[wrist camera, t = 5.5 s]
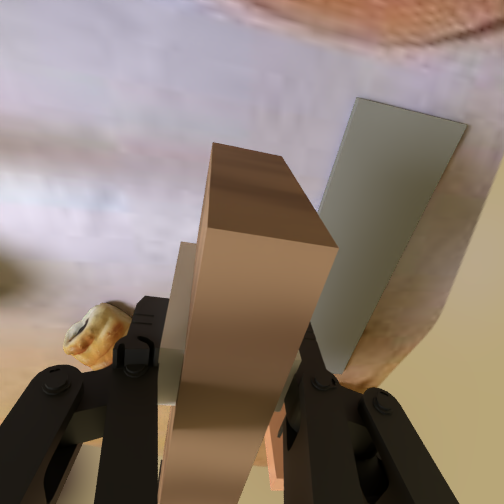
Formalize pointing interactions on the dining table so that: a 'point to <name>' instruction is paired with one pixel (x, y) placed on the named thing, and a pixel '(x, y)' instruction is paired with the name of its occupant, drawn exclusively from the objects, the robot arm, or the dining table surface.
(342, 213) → the mat
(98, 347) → the pastry
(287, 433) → the robot arm
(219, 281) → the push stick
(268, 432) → the tile
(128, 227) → the dining table surface
